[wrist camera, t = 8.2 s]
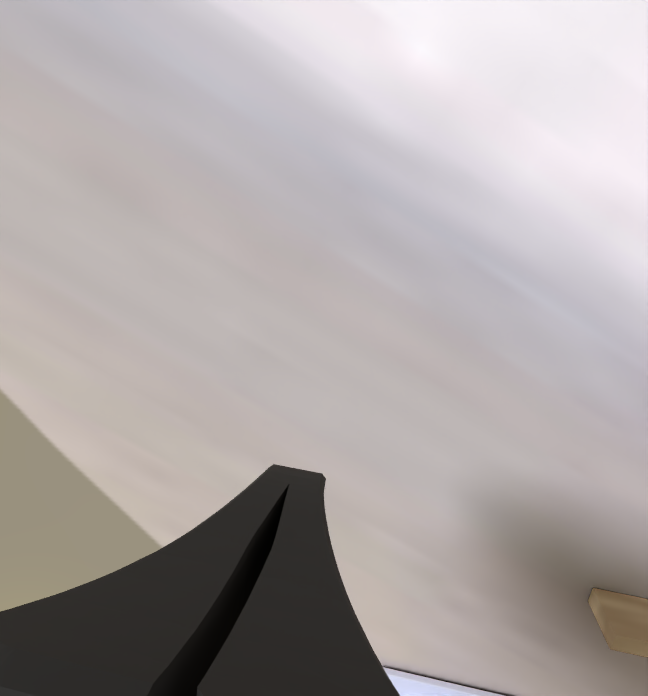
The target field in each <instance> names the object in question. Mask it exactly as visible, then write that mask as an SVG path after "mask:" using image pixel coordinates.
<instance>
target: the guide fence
mask: <svg viewBox="0 0 648 696" xmlns="http://www.w3.org/2000/svg"><path fill="white" fill-rule="evenodd" d="M588 603H589V605H590V607H591V609H592V611H593V613H594V616H595V618H596V620H597V622H598V624H599V626H600V629H601V631H602V633H603V635H604V637H605V639H606V642H607V644H608V646H609V648H610V649H611V650H616V651H620V652H625V653H629V654H634V655H639V656H643V657H648V599H645V598H640V597H635V596H630V595H625V594H621V593H616V592H611V591H606V590H601V589H596V588H593V589H592V592H591V594H590V597H589V599H588Z"/></svg>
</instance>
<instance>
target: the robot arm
mask: <svg viewBox="0 0 648 696" xmlns="http://www.w3.org/2000/svg"><path fill="white" fill-rule="evenodd" d="M325 480H326V478H325V477H324V476H323V474H321V473H316V472H311V471H306V470H301V469H295V468H290V467H285V466H280V465H275V464H274V465H272V466H271V467H269V468H268V469H267V470H266V471H265V472H264V473H263V474H262V475H260V476H259V477H258V478H257V479H256V480H255V481H254V482H253V483H252V484H250V485H249V486H248V487H247V488H246V489H245V490H244V491H242V492H241V493H240V494H239V495H238V496H236V497H235V498H234V499H233V500H231V501H230V502H229V503H228V504H227V505H225V506H224V507H223V508H221V509H220V510H219V511H218V512H216V513H215V514H213V515H212V516H211V517H209V518H208V519H206V520H205V521H204V522H202V523H201V524H199V525H198V526H197V527H195V528H194V529H192V530H191V531H189V532H188V533H186V534H185V535H183V536H181V537H180V538H178V539H177V540H175V541H173V542H172V543H170V544H168V545H167V546H165V547H163V548H161V549H160V550H158V551H156V552H154V553H152V554H150V555H148V556H146V557H144V558H142V559H140V560H138V561H136V562H134V563H132V564H130V565H128V566H126V567H123V568H121V569H119V570H117V571H115V572H113V573H110V574H108V575H106V576H103V577H101V578H98V579H96V580H94V581H91V582H89V583H86V584H83V585H81V586H78V587H75V588H73V589H70V590H67V591H65V592H62V593H59V594H56V595H53V596H50V597H47V598H44V599H41V600H37V601H34V602H31V603H28V604H24V605H21V606H19V607H15V608H12V609H9V610H5V611H1V612H0V696H504V695H500V694H496V693H491V692H487V691H483V690H479V689H474V688H470V687H466V686H461V685H457V684H453V683H449V682H444V681H440V680H436V679H432V678H427V677H423V676H419V675H414V674H410V673H406V672H402V671H397V670H393V669H389V668H385V667H382V665H381V663H380V661H379V660H378V658H377V656H376V654H375V653H374V651H373V649H372V647H371V645H370V643H369V641H368V639H367V637H366V635H365V633H364V631H363V629H362V627H361V625H360V623H359V621H358V619H357V617H356V615H355V612H354V610H353V607H352V605H351V603H350V600H349V598H348V595H347V593H346V590H345V587H344V585H343V582H342V579H341V576H340V573H339V570H338V567H337V564H336V560H335V557H334V553H333V549H332V546H331V541H330V537H329V532H328V527H327V521H326V515H325V507H324V487H325Z"/></svg>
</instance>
